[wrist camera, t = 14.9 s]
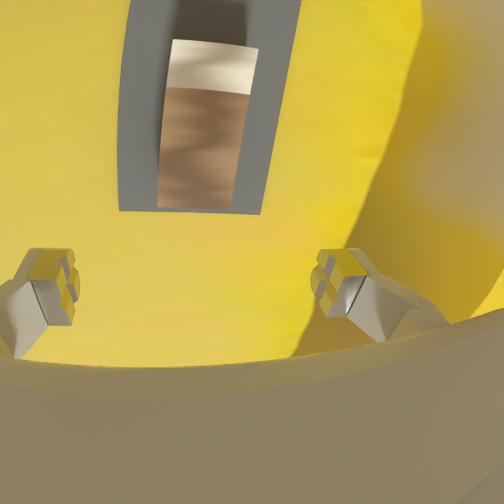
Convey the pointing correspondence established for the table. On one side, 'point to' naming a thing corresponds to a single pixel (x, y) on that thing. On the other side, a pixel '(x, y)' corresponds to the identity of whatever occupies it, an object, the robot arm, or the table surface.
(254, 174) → the mat
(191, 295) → the table surface
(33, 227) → the table surface
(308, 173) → the table surface
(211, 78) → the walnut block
